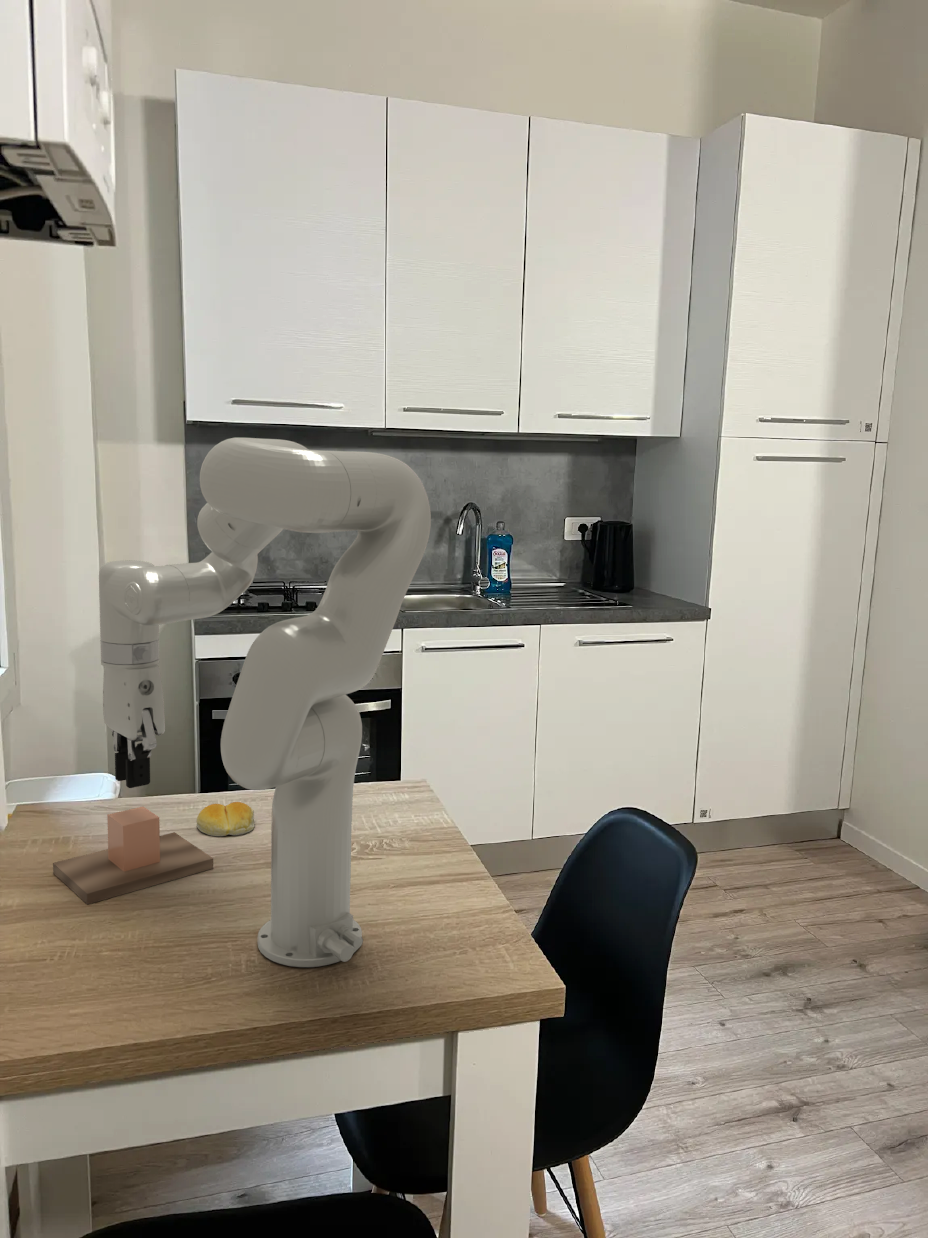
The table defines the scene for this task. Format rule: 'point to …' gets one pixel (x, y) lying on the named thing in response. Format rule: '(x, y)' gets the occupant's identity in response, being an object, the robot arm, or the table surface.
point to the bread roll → (226, 819)
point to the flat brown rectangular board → (105, 880)
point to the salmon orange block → (133, 838)
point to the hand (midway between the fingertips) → (132, 781)
